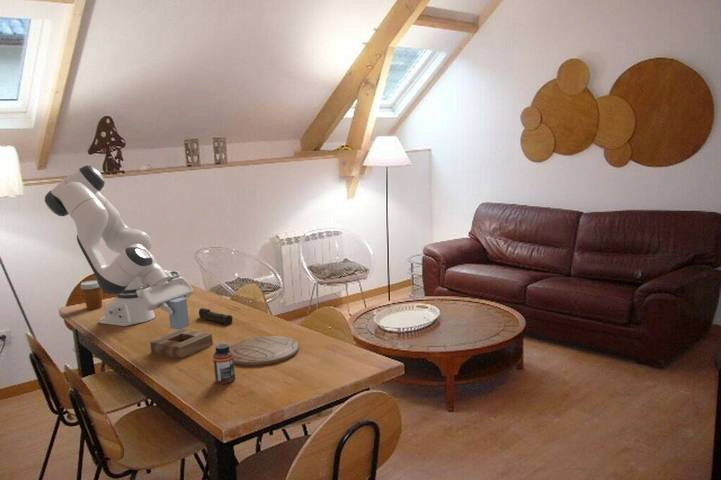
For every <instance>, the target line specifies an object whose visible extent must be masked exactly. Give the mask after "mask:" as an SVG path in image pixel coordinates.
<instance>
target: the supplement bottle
mask: <svg viewBox="0 0 721 480" xmlns="http://www.w3.org/2000/svg"><path fill="white" fill-rule="evenodd" d="M229 346H230V345H229V344H228V343H219V344H217V345H216V346H215V352H214V353H213V354H212V355H213V356H212V357H213V367H214V376H215V382H216V383H217V384H220V385H221V384H222V385H223V384H225V385H226V384H230V383H232V382H233V381H235V379H236V373H235V372H236V371H235V364H234V360H233V353H232V351H230V350H229Z"/></svg>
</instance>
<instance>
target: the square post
mask: <svg viewBox="0 0 721 480" xmlns="http://www.w3.org/2000/svg"><path fill="white" fill-rule="evenodd" d="M167 306H168V307H170V308H173V309H174V310H175V313H174V314H172V315H169V314H168V316H169V325H170V329H175V330H181V329H185V328H187V327H190V322H189V320H190V318H189V310H188V308H187V306H188V301H187V298H176V299H173V300H170V301H168V305H167Z"/></svg>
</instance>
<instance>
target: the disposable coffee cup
mask: <svg viewBox="0 0 721 480" xmlns="http://www.w3.org/2000/svg"><path fill="white" fill-rule="evenodd" d="M79 287H80V289H81V291H82V295H83V298H84V303H85V305H86V309H87V310H91V311H92V310H98V309H101V308H102V307H103V290H102V289H101V288H100V287H99V285H98V282H97V280H96V279H93V280H87V281H83V282H81V283H80V286H79Z"/></svg>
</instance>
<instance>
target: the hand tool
mask: <svg viewBox="0 0 721 480" xmlns="http://www.w3.org/2000/svg"><path fill="white" fill-rule="evenodd" d="M198 316H199V318H200V319H201V320H203V321H209V320H210V321H213V322H216V323H221V324H224V325H225V326H228V325H231V324H233V316H232V315H231V314H229V315H227V314H223V313H217V312H213V311H211V309H209V308H208V309H207V308H205V307H201V308H199V310H198Z"/></svg>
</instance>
